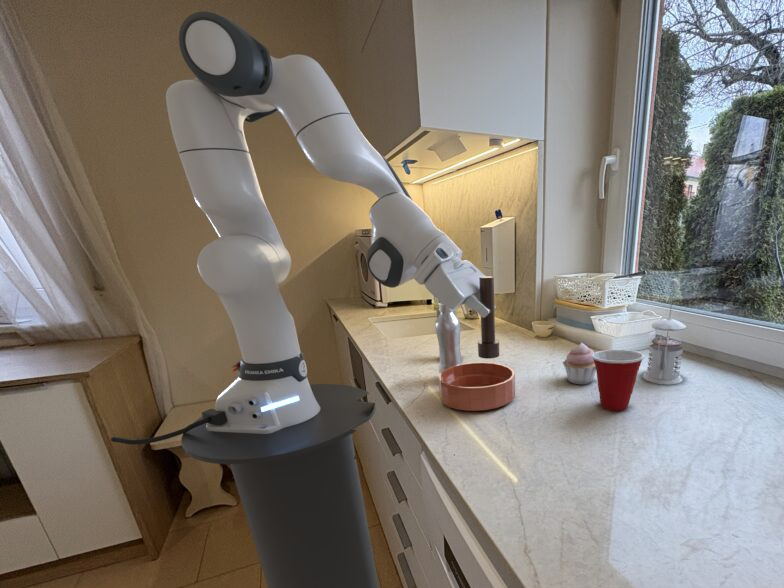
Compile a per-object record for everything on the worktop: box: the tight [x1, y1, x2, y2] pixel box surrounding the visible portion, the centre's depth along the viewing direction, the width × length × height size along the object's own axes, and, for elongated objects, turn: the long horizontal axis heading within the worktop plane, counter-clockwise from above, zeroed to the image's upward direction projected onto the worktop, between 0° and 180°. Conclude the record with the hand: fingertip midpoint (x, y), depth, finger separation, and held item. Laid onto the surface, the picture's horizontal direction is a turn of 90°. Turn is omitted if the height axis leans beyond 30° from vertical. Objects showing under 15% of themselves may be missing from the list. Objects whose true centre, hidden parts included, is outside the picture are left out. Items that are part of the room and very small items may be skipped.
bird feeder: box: [642, 278, 687, 386], centre depth 101 cm, size 10×12×25 cm
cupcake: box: [562, 342, 597, 385], centre depth 103 cm, size 9×9×10 cm
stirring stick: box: [477, 275, 500, 360], centre depth 83 cm, size 4×4×16 cm
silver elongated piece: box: [434, 302, 464, 375], centre depth 104 cm, size 6×7×20 cm
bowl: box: [437, 361, 516, 412], centre depth 94 cm, size 17×17×6 cm
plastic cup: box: [592, 349, 645, 412], centre depth 88 cm, size 11×11×12 cm
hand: (490, 312), depth 82 cm, fingers closed on stirring stick, 3 cm apart
